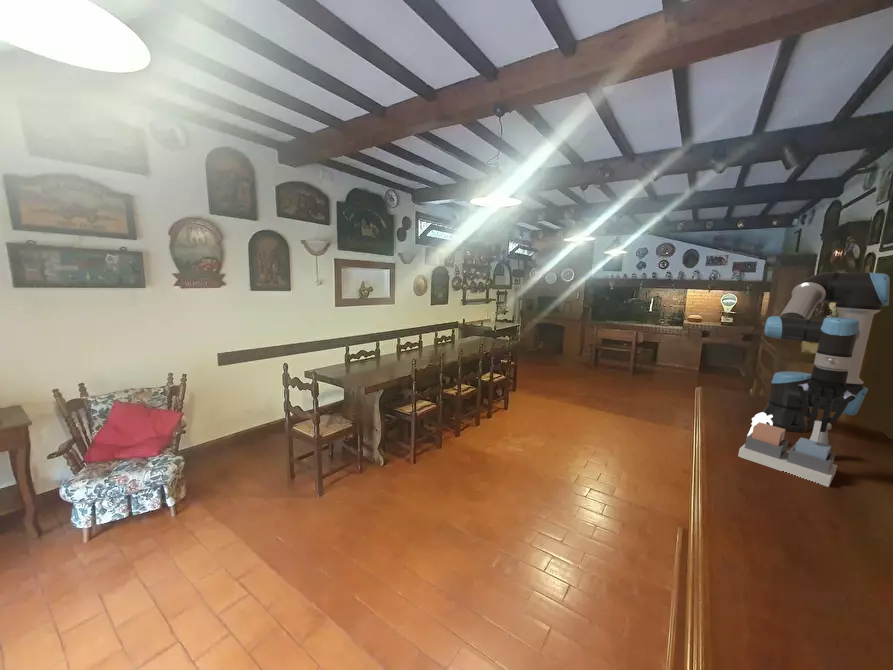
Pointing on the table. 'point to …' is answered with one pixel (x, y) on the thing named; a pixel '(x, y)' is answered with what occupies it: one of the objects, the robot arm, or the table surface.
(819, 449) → the slate blue key
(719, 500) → the table surface
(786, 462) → the key housing
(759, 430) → the terracotta key
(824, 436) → the salt shaker
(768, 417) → the figurine
